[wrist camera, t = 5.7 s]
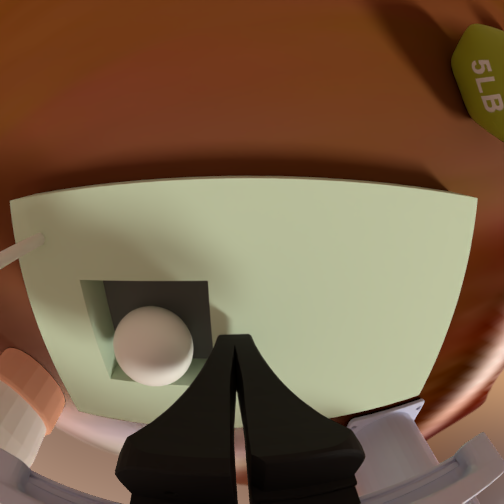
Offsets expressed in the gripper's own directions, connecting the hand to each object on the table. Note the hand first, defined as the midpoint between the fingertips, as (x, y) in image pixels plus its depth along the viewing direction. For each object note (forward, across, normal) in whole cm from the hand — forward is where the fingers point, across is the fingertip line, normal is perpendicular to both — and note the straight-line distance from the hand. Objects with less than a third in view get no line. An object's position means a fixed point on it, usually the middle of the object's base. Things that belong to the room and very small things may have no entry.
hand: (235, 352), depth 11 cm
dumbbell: (+4, -21, -17) cm, 27 cm away
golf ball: (+1, +4, +1) cm, 4 cm away
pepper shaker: (+4, +18, +8) cm, 20 cm away
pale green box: (+3, -1, 0) cm, 4 cm away
